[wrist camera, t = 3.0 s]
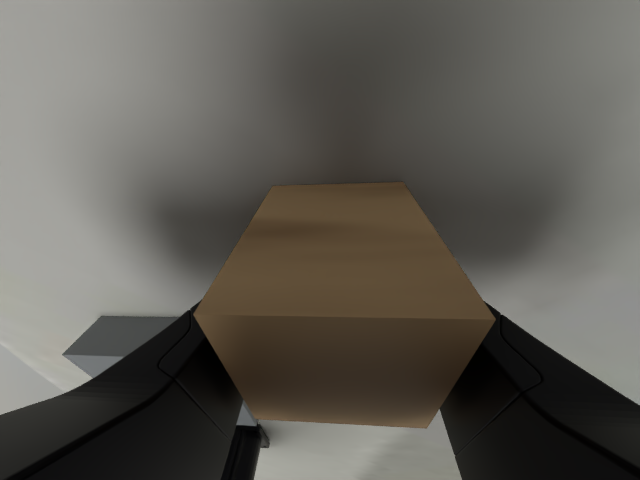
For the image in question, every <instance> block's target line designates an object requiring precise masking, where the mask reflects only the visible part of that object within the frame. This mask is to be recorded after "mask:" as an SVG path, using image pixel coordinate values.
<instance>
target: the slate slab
mask: <svg viewBox="0 0 640 480" xmlns="http://www.w3.org/2000/svg"><path fill="white" fill-rule="evenodd" d="M178 318H179V317H125V316H101V317H100V318H99V319H98V320H97V321H96V322H95V323H94V324H93V325H92V326H91V327H90V328H89V329H88V330H87V331H85V332H84V333H83V334H82V335H81V336H80V337H79V338H78V339H77V340H76V341H75V342H74V343H73V344H72V345H71V346H70V347H69V348H68V349H67V350H66V351H65V352H64V353H63V354H62V355H63V356H64V357H66V358H67V359H68V360H70V361H71V362H72V363H74V364H75V365H76V366H78V367H79V368H80V369H82V370H83V371H84V372H86V373H87V374H88V375H90V376H91V377H92V378H94V377H96V376H97V375H99V374H100V373H102V372H103V371H105V370H106V369H107V368H109V367H110V366H112V365H113V364H115V363H116V362H118V361H119V360H121V359H122V358H123V357H125V356H126V355H128V354H129V353H131V352H132V351H134V350H135V349H136V348H138V347H139V346H141V345H142V344H144V343H145V342H147V341H148V340H149V339H151V338H152V337H154V336H155V335H156V334H158V333H159V332H161V331H162V330H163V329H165V328H166V327H167V326H169V325H170V324H171V323H173V322H174V321H175V320H177V319H178ZM257 421H258V419H255V418H254V416H253V414H252V413H251V411H250V409H249V408H248V406H247V404H246V403H245V401H244V400H243V404H242V407H241V411H240V414H239V417H238V421H237V424H236V425H247V426H256V425H257Z"/></svg>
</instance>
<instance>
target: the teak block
mask: <svg viewBox="0 0 640 480" xmlns="http://www.w3.org/2000/svg"><path fill="white" fill-rule="evenodd" d="M193 315H194V317H195V318H196V320H197V322H198V323H199V325H200V327H201V329H202V330H203V332H204V334H205V335H206V337H207V339H208V340H209V342H210V344H211V345H212V347H213V349H214V350H215V352H216V354H217V355H218V357H219V359H220V360H221V362H222V364H223V366H224V367H225V369H226V371H227V372H228V374H229V376H230V377H231V379H232V381H233V382H234V384H235V386H236V387H237V389H238V391H239V392H240V394H241V396H242V398H243V399H244V401H245V403H246V404H247V406H248V408H249V409H250V411H251V413H252V414H253V416H254V418H255V419H262V420H281V421H299V422H318V423H336V424H355V425H373V426H391V427H410V428H427V427H428V426H429V424H430V423H431V421H432V420H433V418H434V416H435V415H436V413H437V412H438V410H439V408H440V407H441V405H442V404H443V402H444V401H445V399H446V397H447V396H448V394H449V393H450V391H451V390H452V388H453V386H454V385H455V383H456V382H457V380H458V379H459V377H460V375H461V374H462V372H463V371H464V369H465V368H466V366H467V364H468V363H469V361H470V360H471V358H472V357H473V355H474V353H475V352H476V350H477V349H478V347H479V346H480V344H481V342H482V341H483V339H484V338H485V336H486V335H487V333H488V331H489V330H490V328H491V327H492V325H493V324H494V322H495V320H496V319H495V317H494V316H493V314H492V313H491V311H490V310H489V309H488V307H487V306H486V304H485V303H484V301H483V300H482V298H481V297H480V295H479V294H478V292H477V291H476V289H475V288H474V286H473V285H472V283H471V282H470V280H469V279H468V277H467V276H466V274H465V273H464V271H463V270H462V268H461V267H460V265H459V264H458V263H457V261H456V260H455V258H454V257H453V255H452V254H451V252H450V251H449V249H448V248H447V246H446V245H445V243H444V242H443V240H442V239H441V237H440V236H439V234H438V233H437V231H436V230H435V228H434V227H433V225H432V224H431V222H430V221H429V220H428V218H427V217H426V215H425V214H424V212H423V211H422V209H421V208H420V206H419V205H418V203H417V202H416V200H415V199H414V197H413V196H412V194H411V193H410V191H409V190H408V188H407V187H406V185H405V184H404V182H382V183H348V184H315V185H281V186H272V188H271V189H270V191H269V192H268V194H267V196H266V197H265V199H264V200H263V202H262V204H261V205H260V207H259V209H258V210H257V212H256V213H255V215H254V217H253V218H252V220H251V222H250V223H249V225H248V226H247V228H246V230H245V231H244V233H243V235H242V236H241V238H240V239H239V241H238V243H237V244H236V246H235V247H234V249H233V251H232V252H231V254H230V256H229V257H228V259H227V260H226V262H225V264H224V265H223V267H222V269H221V270H220V272H219V273H218V275H217V277H216V278H215V280H214V282H213V283H212V285H211V286H210V288H209V290H208V291H207V293H206V294H205V296H204V298H203V299H202V301H201V303H200V304H199V306H198V307H197V309H196V311H195V312H194V314H193Z"/></svg>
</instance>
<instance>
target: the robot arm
mask: <svg viewBox="0 0 640 480" xmlns="http://www.w3.org/2000/svg"><path fill="white" fill-rule="evenodd" d="M201 301H202V300H201ZM201 301H200V302H198V303H197V304H196V305H194V306H193V307H192V308H191V309H190V310H188V311H187V312H185V313H184V314H183V315H182V316H180V317H179V318H178V319H177V320H175V321H174V322H173V323H171V324H170V325H169V326H167V327H166V328H165V329H163V330H162V331H161V332H159V333H158V334H156V335H155V336H154V337H152V338H151V339H149V340H148V341H147V342H145V343H144V344H142V345H141V346H139V347H138V348H136V349H135V350H134V351H132V352H131V353H129V354H128V355H126V356H125V357H123V358H122V359H121V360H119V361H118V362H116V363H115V364H113V365H112V366H110V367H109V368H107V369H106V370H105V371H103V372H102V373H100V374H99V375H97V376H96V377H94V378H93V379H91V380H90V381H88V382H86V383H84V384H83V385H81V386H79V387H77V388H75V389H73V390H71V391H69V392H66V393H64V394H62V395H59V396H56V397H54V398H51V399H48V400H45V401H42V402H38V403H35V404H32V405H29V406H26V407H24V408H20V409H17V410H14V411H11V412H8V413H5V414H2V415H0V480H254V476H255V471H256V466H257V461H258V456H259V452H260V448H269V444H270V443H269V441H268V439H267V438H266V436H265V434H264V432H263V431H262V429H261V428H260V427H259V426H247V425H236V424H237V421H238V417H239V414H240V411H241V407H242V404H243V400H244V399H243V398H242V396H241V394H240V392H239V391H238V389H237V387H236V386H235V384H234V382H233V381H232V379H231V377H230V376H229V374H228V372H227V371H226V369H225V367H224V366H223V364H222V362H221V360H220V359H219V357H218V355H217V354H216V352H215V350H214V349H213V347H212V345H211V344H210V342H209V340H208V339H207V337H206V335H205V334H204V332H203V330H202V329H201V327H200V325H199V323H198V322H197V320H196V318H195V317H194V315H193V314H194V312H195V311H196V309H197V307H198V306H199V304H200V303H201ZM484 303H485V304H486V306H487V307H488V309H489V310H490V311H491V313H492V314H493V316H494V317H495V319H496V320H495V322H494V324H493V325H492V327H491V328H490V330H489V331H488V333H487V335H486V336H485V338H484V339H483V341H482V342H481V344H480V346H479V347H478V349H477V350H476V352H475V353H474V355H473V357H472V358H471V360H470V361H469V363H468V364H467V366H466V368H465V369H464V371H463V372H462V374H461V375H460V377H459V379H458V380H457V382H456V383H455V385H454V386H453V388H452V390H451V391H450V393H449V394H448V396H447V397H446V399H445V401H444V402H443V404H442V405H441V407H440V411H441V415H442V418H443V421H444V424H445V427H446V430H447V433H448V436H449V440H450V443H451V446H452V449H453V452H454V454H455V455H456V456H455V459H456V462H457V465H458V468H459V471H460V474H461V477H462V480H640V405H638V404H637V403H635V402H633V401H632V400H630V399H628V398H627V397H625V396H624V395H622V394H620V393H619V392H617V391H616V390H614V389H613V388H611V387H610V386H608V385H606V384H605V383H603V382H602V381H600V380H599V379H597V378H596V377H594V376H593V375H591V374H589V373H588V372H586V371H585V370H583V369H582V368H580V367H579V366H577V365H576V364H574V363H572V362H571V361H569V360H568V359H566V358H565V357H563V356H562V355H560V354H559V353H557V352H556V351H554V350H553V349H551V348H550V347H548V346H547V345H545V344H544V343H542V342H541V341H539V340H538V339H536V338H535V337H533V336H532V335H530V334H529V333H528V332H526V331H525V330H523V329H522V328H520V327H519V326H518V325H516V324H515V323H513V322H512V321H511V320H509V319H508V318H507V317H505V316H504V315H501V313H500V312H498V311H497V310H496V309H494V308H493V307H492V306H490V305H489V304H487V303H486V302H485V301H484Z"/></svg>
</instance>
